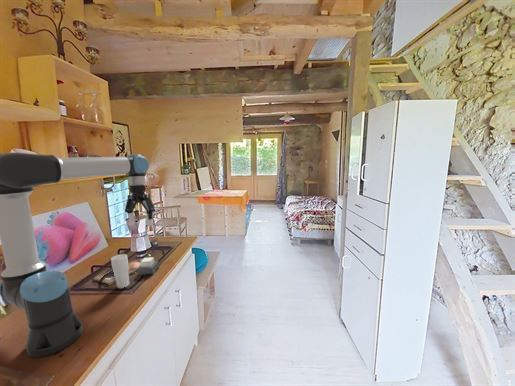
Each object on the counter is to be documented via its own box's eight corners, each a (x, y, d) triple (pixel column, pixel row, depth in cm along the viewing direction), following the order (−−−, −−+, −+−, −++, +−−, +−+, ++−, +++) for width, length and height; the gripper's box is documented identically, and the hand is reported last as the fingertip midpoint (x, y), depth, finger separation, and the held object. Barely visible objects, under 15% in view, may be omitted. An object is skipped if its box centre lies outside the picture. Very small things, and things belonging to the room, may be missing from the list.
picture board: (109, 285, 118) (108, 283, 118) (94, 280, 125) (94, 277, 124) (148, 266, 137) (147, 264, 137) (133, 262, 144) (133, 260, 143)
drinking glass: (119, 291, 113) (114, 261, 110) (113, 287, 117) (108, 258, 114) (133, 284, 118) (129, 255, 116) (127, 280, 122) (123, 252, 120)
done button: (151, 269, 128) (150, 261, 127) (141, 269, 128) (140, 261, 127) (154, 264, 133) (153, 257, 132) (145, 265, 133) (144, 257, 132)
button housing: (153, 274, 127) (152, 267, 126) (138, 275, 127) (137, 268, 126) (159, 267, 135) (158, 260, 134) (144, 268, 135) (143, 261, 134)
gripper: (160, 183, 123) (163, 224, 124) (128, 185, 134) (131, 223, 135) (148, 183, 116) (151, 227, 117) (115, 186, 127) (118, 226, 128)
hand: (140, 225), depth 126 cm, fingers open, 13 cm apart
